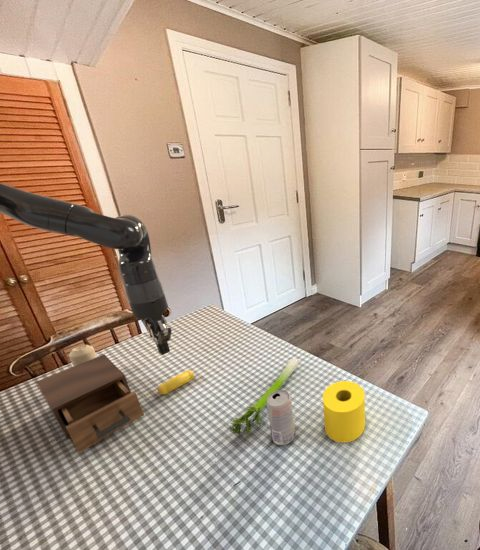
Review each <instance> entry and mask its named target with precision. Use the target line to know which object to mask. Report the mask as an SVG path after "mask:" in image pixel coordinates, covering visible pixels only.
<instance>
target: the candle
mask: <svg viewBox="0 0 480 550" xmlns="http://www.w3.org/2000/svg"><path fill="white" fill-rule="evenodd" d="M68 357H69V359H70V361H71V363H72V367H74V366H77V365H79V364H82V363H84V362H87V361H89V360H91V359H94V358H96V357H98V355H97V353H96V351H95V348H94V347H93V346H92V345H89V344H82V345H79V346H75V347H74V348H72V349H71V351H70V353H68Z"/></svg>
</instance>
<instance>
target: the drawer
mask: <svg viewBox="0 0 480 550" xmlns="http://www.w3.org/2000/svg"><path fill="white" fill-rule="evenodd" d="M141 405H142V404H141V402H140V400H139V398H138V395H137V392H136V391H131V393H130V392H129V391H128V390H127V388H126V387H125V386H124V385H123V384H122V383H121V382H120V381H117V382H115V383H113V384H111V385H109V386H107V387H105V388H103V389H101V390H98V391H96V392H94V393H92V394H90V395H88V396H86V397H84V398H82V399H80V400H78V401H75V402H73V403H71V404H69V405H67V406H65V407H63V408H61V409H60V410H61V412H62V414H63V416H64V418H65V420H66V422H67V424H68V426H66V429H67V431H68V433H69V435H70V438H71V441H72V442H73V444H74V447H75V448H76V450H77V452H78V453H81V452H83V451H85V450H87V449H88V448H90V447H92V446H93V445H95V444H97V443H99V442H101V441H102V440H104V439H105V438H108V437H109V436H111V435H112V434H114V433H116V432H118V431H120V430H121V429H123V428H125V427H126V426H128V425H130V424H132V423H133V422H135V421H137V420H139V419H141V418H142V417H144V416H145V413H144V411H143V407H142V406H141Z"/></svg>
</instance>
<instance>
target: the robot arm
mask: <svg viewBox="0 0 480 550" xmlns="http://www.w3.org/2000/svg"><path fill="white" fill-rule="evenodd" d="M0 214H2V215H4V216H6V217H9V218H10V219H12V220H14V221H17V222H19V223H21V224H24V225H26V226H28V227H31V228H35V229H38V230H41V231H46V232H50V233H54V234H59V235H63V236H69V237H76V238H80V239H83V240H85V241H87V242H89V243H92V244H96V245H98V246H101V247H105V248H108V249H113V250H117V251H118V256H119V258H118V263H117V264H118V265H117V266H118V272H119V275H120V277H121V279H122V282H123V286H124V292H125V295H126V298H127V301H128V303H129V306H130V309H131V312H132V315H133V317H134V318H136V319H138V320H139V319H140V320H141V322H142V324H143V326H144V327H145V329H146V331H147V334H149V337H150V339H152V340H153V342H154V343H155V345H156V349H157V351H158V353H159V354H160V355H161V356H164V355H165V354H169V352H170V351H171V349H170V346H169V343H168V342H169V341H171V339H172V338H171V337H172V328H171V327H168V326H167V319H166V317H165V316H163V314H164V313H165V312H167V310H168V309H169V304H168V300H167V297H166V295H165V291H164V288H163V284H162V282H161V280H160V277H159V274H158V272H157V268H156V265H155V262H154V259H153V256H152V246H151V239H150V236H149V231H148V228H147V226H146V224H145V222H143V220H142V219H141V218H139V217H137V216H136V215H133V214H121V215H118V216H116V217H111V216H108V215H104V214H101V213H97V212H95V211H94V210H93V209H92V208H90V207H87V206H85V205H81V204H77V203H73V202H69V201H66V200H62V199H57V198H54V197H50V196H45V195H41V194H37V193H35V192H31V191H26V190H24V189H20V188H17V187H14V186H10V185H7V184H4V183H1V182H0Z"/></svg>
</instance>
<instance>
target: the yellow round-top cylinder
mask: <svg viewBox="0 0 480 550" xmlns="http://www.w3.org/2000/svg"><path fill="white" fill-rule="evenodd" d="M194 378H195V372H194V371H193V370H191V369H187V370H185V371H182V372H181V373H179V374H177V375H175V376H174V377H172V378H170V379H167V380H166V381H164V382H162V383H161V384H160V385H158V387H157V392H158V394H159V395H163V396H165V395H168V394H169V393H171V392H173V391H175V390H177V389H179V388H180V387H182V386H184V385H186V384H188V383H189V382H191V381H193V379H194Z"/></svg>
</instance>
